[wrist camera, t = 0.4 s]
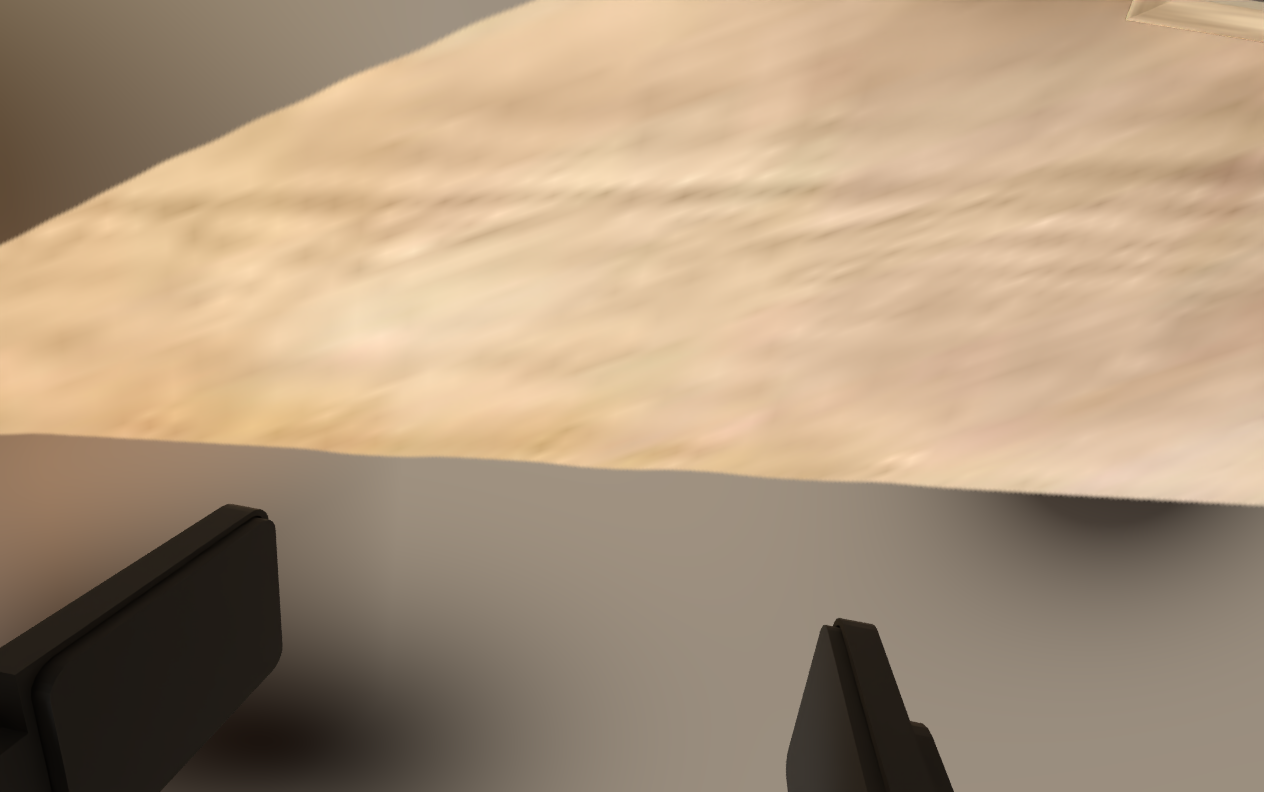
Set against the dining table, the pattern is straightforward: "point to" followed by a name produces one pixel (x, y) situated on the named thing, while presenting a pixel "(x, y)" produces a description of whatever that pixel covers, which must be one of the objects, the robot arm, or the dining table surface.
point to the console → (1204, 16)
